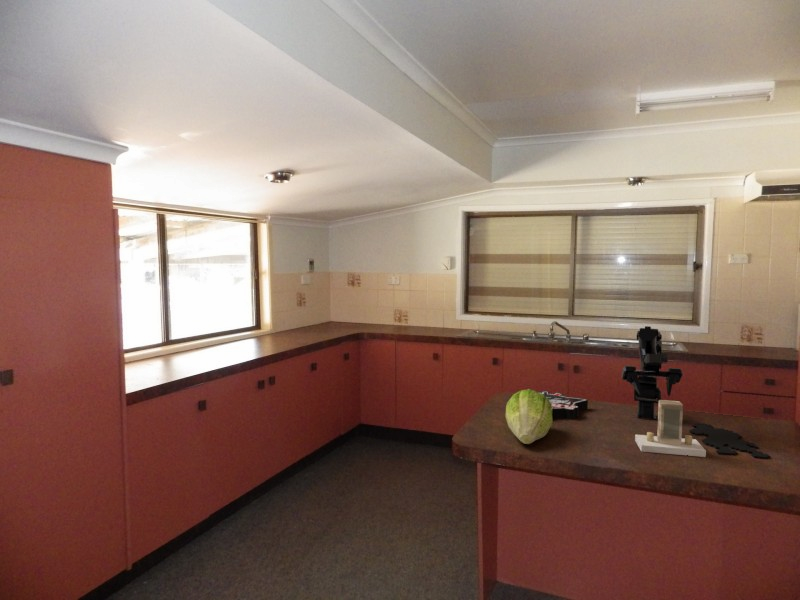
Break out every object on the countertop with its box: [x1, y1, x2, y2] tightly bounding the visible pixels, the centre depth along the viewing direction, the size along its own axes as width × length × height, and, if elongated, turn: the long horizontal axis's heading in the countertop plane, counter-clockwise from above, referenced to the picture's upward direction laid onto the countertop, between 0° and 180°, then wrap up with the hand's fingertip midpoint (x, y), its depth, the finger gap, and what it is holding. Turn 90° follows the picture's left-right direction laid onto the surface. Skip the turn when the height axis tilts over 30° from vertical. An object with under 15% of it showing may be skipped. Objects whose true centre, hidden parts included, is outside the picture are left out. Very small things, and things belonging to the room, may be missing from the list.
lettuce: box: [504, 388, 554, 445], centre depth 170 cm, size 15×24×16 cm
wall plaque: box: [537, 390, 589, 420], centre depth 199 cm, size 28×4×30 cm
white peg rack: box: [634, 431, 707, 458], centre depth 158 cm, size 10×18×4 cm, turn 75°
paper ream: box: [656, 399, 684, 445], centre depth 158 cm, size 4×6×13 cm
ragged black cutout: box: [688, 422, 771, 460], centre depth 166 cm, size 16×1×30 cm
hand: (654, 394), depth 171 cm, fingers open, 9 cm apart
